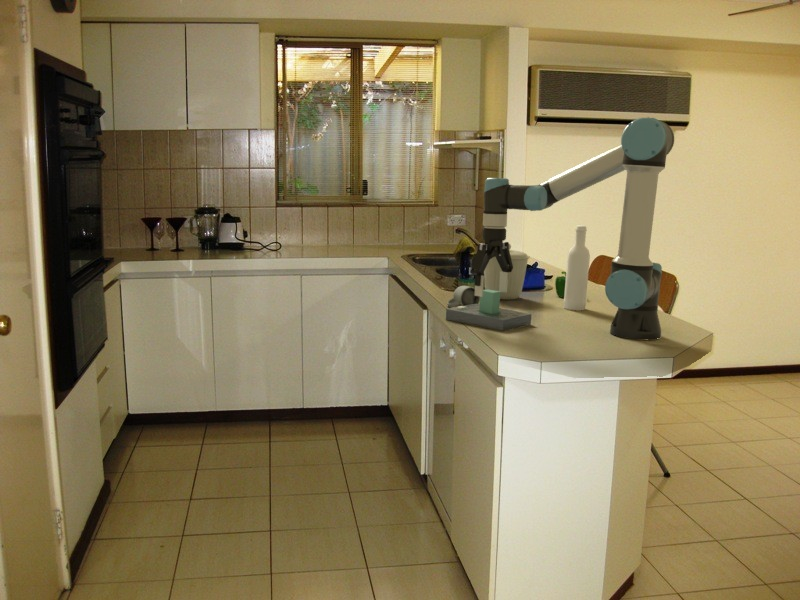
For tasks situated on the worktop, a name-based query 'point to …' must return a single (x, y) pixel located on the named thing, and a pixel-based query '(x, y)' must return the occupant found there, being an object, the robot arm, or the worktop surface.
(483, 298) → the plug
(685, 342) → the worktop surface
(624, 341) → the worktop surface
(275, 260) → the worktop surface
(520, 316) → the socket
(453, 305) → the ceramic mug
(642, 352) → the worktop surface
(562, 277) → the bell pepper
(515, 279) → the canister
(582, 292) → the bottle
